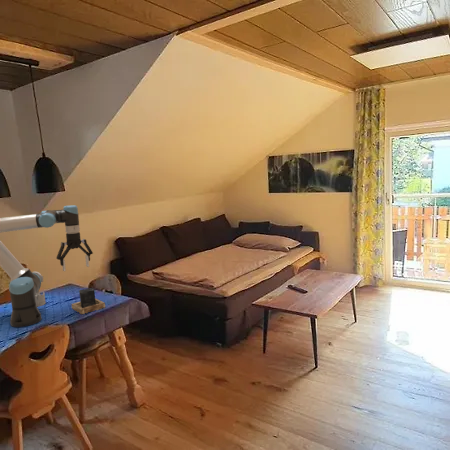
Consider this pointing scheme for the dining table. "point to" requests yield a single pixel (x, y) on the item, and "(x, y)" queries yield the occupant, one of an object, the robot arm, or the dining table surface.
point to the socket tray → (81, 310)
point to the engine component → (39, 298)
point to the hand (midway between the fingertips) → (76, 268)
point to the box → (87, 297)
